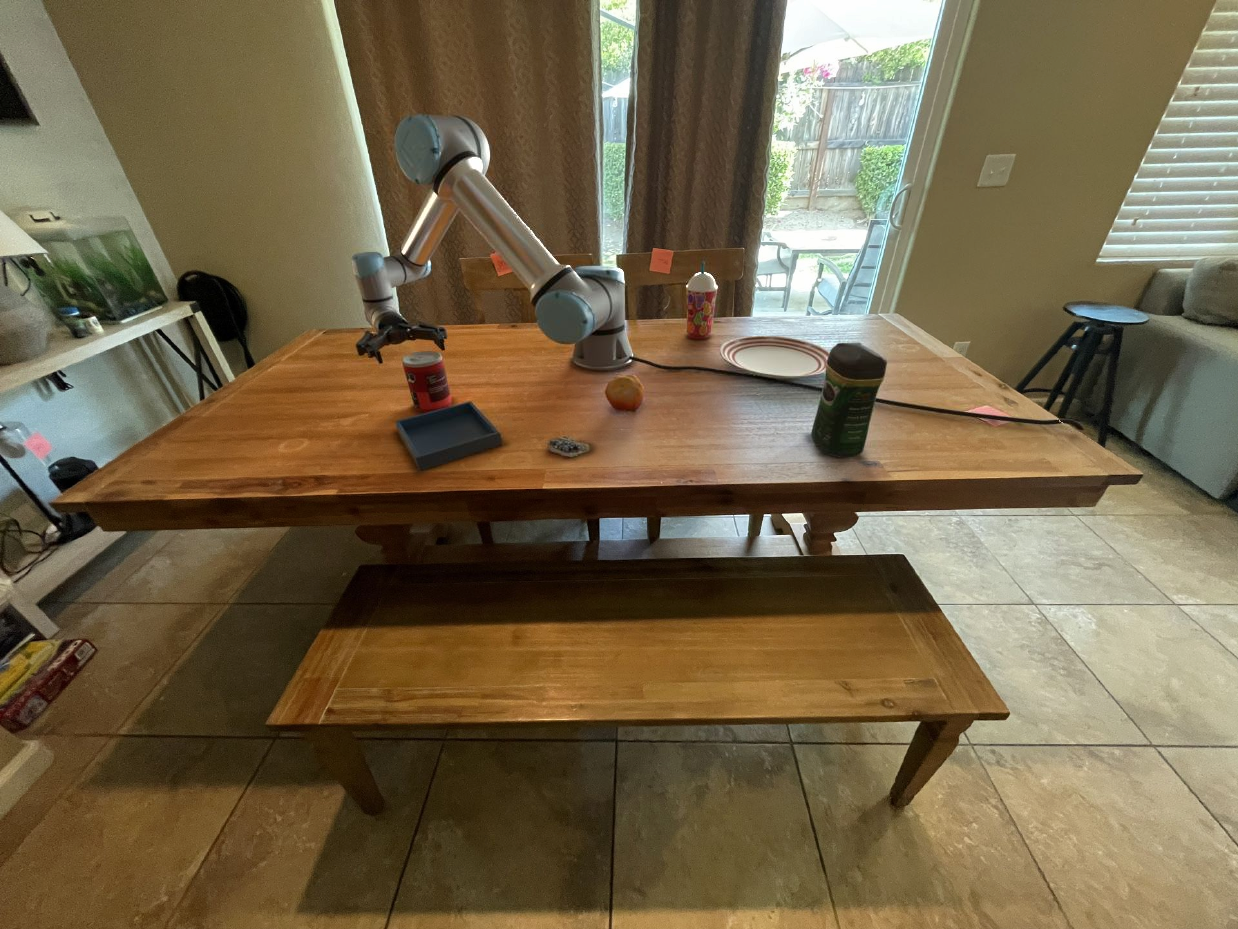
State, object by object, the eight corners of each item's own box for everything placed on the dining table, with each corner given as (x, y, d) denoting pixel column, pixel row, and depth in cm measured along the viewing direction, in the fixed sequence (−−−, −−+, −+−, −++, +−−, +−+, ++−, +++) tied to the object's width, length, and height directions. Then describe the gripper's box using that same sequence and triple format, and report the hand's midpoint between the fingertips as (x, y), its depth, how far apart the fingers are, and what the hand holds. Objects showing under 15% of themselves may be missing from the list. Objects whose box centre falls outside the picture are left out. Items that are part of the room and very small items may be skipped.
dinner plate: (790, 340, 138) (792, 328, 137) (859, 377, 117) (862, 364, 115) (699, 354, 131) (700, 341, 130) (755, 396, 110) (757, 382, 108)
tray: (502, 445, 95) (500, 432, 93) (419, 470, 88) (415, 458, 87) (473, 412, 106) (470, 400, 105) (398, 433, 100) (394, 421, 98)
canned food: (419, 398, 113) (406, 351, 107) (455, 396, 113) (445, 349, 107) (410, 414, 106) (396, 365, 100) (448, 412, 107) (437, 363, 101)
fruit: (651, 392, 109) (645, 370, 102) (642, 423, 106) (636, 402, 99) (616, 387, 112) (608, 365, 104) (606, 418, 108) (598, 397, 101)
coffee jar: (869, 458, 88) (899, 357, 78) (826, 461, 88) (850, 360, 78) (844, 431, 96) (868, 336, 86) (804, 433, 96) (823, 339, 86)
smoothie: (712, 331, 146) (718, 258, 135) (714, 341, 139) (720, 265, 128) (683, 331, 147) (687, 258, 136) (684, 340, 140) (687, 265, 129)
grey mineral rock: (551, 438, 96) (550, 429, 95) (592, 439, 96) (592, 431, 95) (543, 457, 91) (542, 448, 90) (587, 458, 90) (586, 449, 89)
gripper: (443, 331, 134) (469, 355, 119) (341, 350, 123) (356, 379, 108) (437, 302, 130) (463, 323, 115) (331, 320, 119) (345, 346, 104)
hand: (411, 351), depth 111 cm, fingers open, 13 cm apart
